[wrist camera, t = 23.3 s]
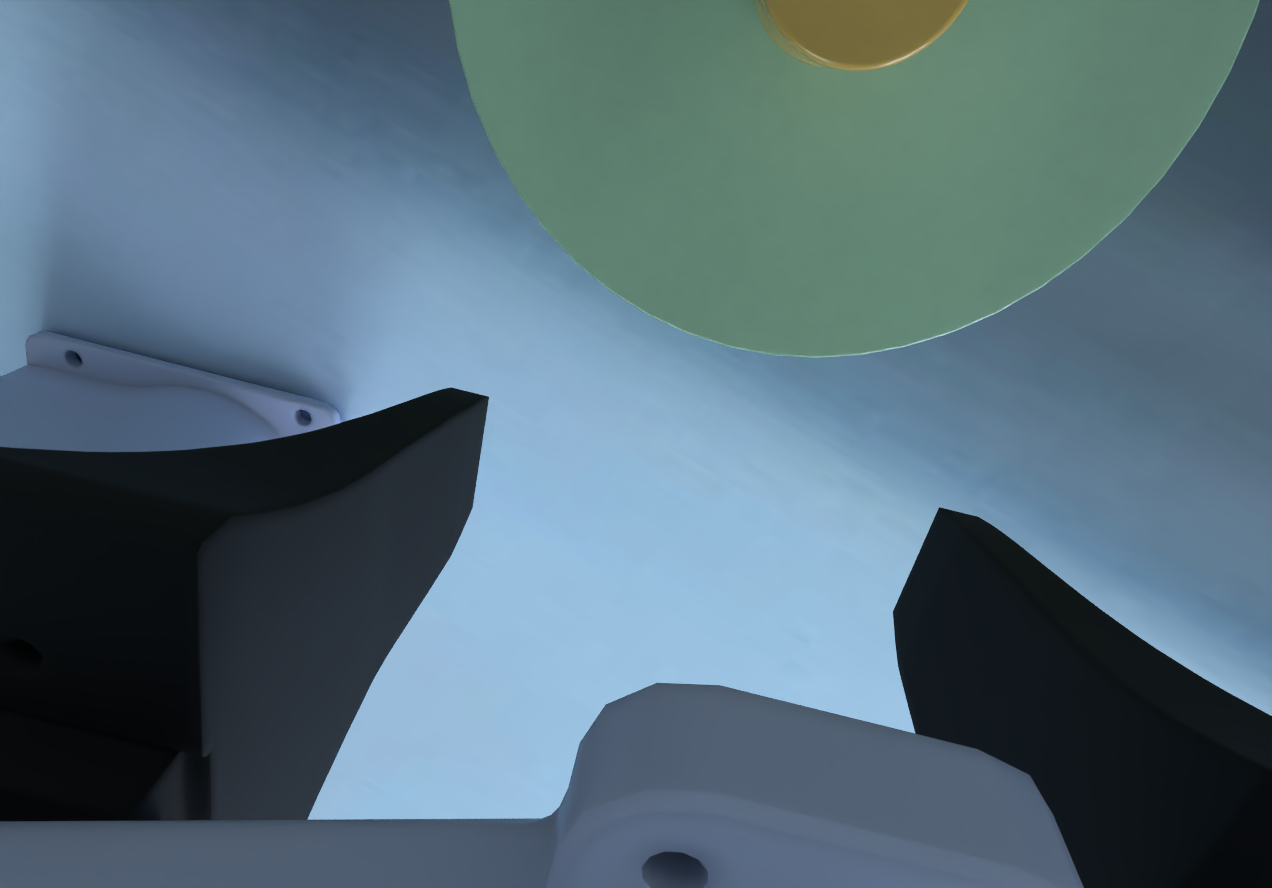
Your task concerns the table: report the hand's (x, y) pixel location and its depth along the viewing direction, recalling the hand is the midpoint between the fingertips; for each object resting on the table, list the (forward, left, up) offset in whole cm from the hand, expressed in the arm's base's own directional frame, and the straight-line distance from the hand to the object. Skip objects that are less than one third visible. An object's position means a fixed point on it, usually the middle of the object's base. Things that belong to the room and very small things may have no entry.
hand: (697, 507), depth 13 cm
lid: (0, +8, -4) cm, 9 cm away
